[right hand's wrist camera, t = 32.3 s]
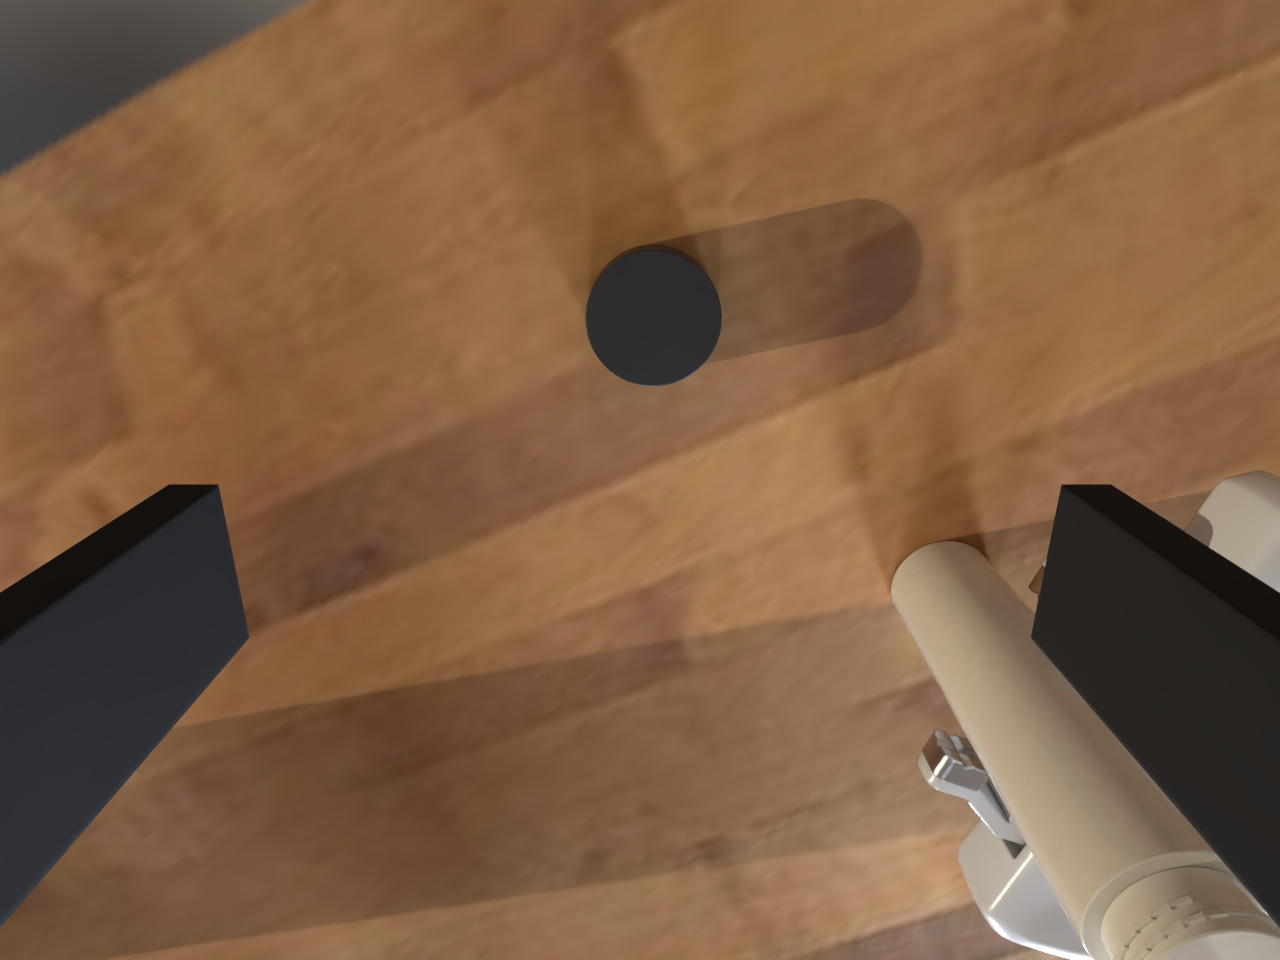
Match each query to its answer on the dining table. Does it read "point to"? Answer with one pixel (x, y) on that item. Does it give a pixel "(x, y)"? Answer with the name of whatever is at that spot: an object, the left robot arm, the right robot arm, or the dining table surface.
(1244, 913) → the slim white bottle
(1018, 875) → the left robot arm
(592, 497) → the dining table surface
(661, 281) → the lid
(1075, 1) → the dining table surface
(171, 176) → the dining table surface
